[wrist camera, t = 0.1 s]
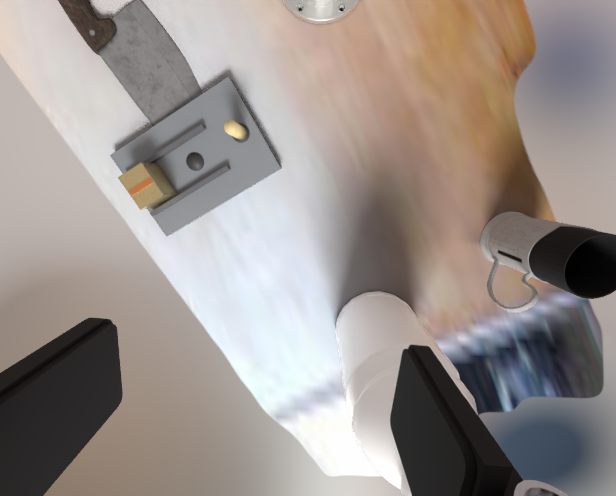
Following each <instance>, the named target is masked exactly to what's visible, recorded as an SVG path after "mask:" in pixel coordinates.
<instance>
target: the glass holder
mask: <svg viewBox="0 0 616 496" xmlns="http://www.w3.org/2000/svg"><path fill="white" fill-rule="evenodd" d="M480 247H481V250H482V253H483V254H484V256H485V257H486V258H487V259H488V260H490V261H491V262H493V263H494V264H493V267H492V270H491V272H490V275H489V279H488V282H487V288H488V292H489V295H490V297H491V299H492V300H493V301H494V303H495V304H496V305H498V306H499V307H500V308H501V309H503V310H505V311H507V312H513V313H517V312H522V311H525V310H527V309H529V308H531V307H532V306H534V305H535V303H536V302H537V300H538V292H537V291H536V289H535V288H534V287H533V286H532V285H530V284H528V283H526V281H527V280H528V279H529V278H531V277H533V278H535V279H537V280H540V281H542V282H545V283H549V284H552V285H554V286H556V287H559V288H561V289H563V290H565V291H568V292H570V293H572V294H574V295H577V296H579V297H582V298H587V299H594V298H599V297H604V296H606V295H608V294H611V293H612V292H614V291H615V290H616V235H614V234H609V233H603V232H599V231H596V230H593V229H590V228H585V227H580V226H574V225H569V224H564V223H558V222H553V221H548V220H542V219H537V218H531V217H528V216H526V215H525V214H523V213H520V212H514V211H510V212H505V213H501V214H499V215H497V216H495V217H494V218H493V219H491V220H490V221H489V222H488V223H487V225H486V226H485V227H484V229H483V231H482V234H481V238H480ZM498 264H501V265H507V266H509V267H511V268H513V269H516V270H518V271H520V272H522V273H524V274H525V275H524V276H523V277H522V279H521V281H522V283H523V284H524V285H525V286H526V287H528V288H529V289H531V290H532V291H533V295H532V298H531V299H530V301H529V302H527V303H526V304H524V305H521V306H519V307H514V308H510V307H505V306H503V305H501V304H500V303H499V302H498V301H497V300H496V299H495V297H494V295H493V292H492V283H493V279H494V276H495V273H496V271H497V268H498Z"/></svg>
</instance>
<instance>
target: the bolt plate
mask: <svg viewBox="0 0 616 496" xmlns="http://www.w3.org/2000/svg"><path fill="white" fill-rule="evenodd" d="M110 156H111V157H112V159H113V160H114V162H115V163H116V165H117V166H118V167H119V169H120V170H121V172H122V173H123V174H124V173H126V172H127V171H129V170H130V169H132V168H133V167H135V166H136V165H138V164H140V163H141V162H143V163H154V164H158V166H159V167H160V169H161V170H162V172H163V173H164V175H165V176H166V178H167V179H168V181H169V182H170V184H171V185H172V187H173V188H174V190H175V191H176V193H177V194H176V195H174V196H172V197H171V198H169V199H168V200H166V201H164V202H163V203H161V204H160V205H158V206H156V207H152V208H147V209H148V210H149V212H150V214H151V215H152V216H153V218H154V219H155V221H156V222H157V223H158V225H159V226H160V228H161V229H162V231H163V232H164V233H165V235H166V236H168V235H171V234H172V233H174V232H176V231H177V230H179V229H181V228H182V227H184V226H186V225H188V224H189V223H191V222H193V221H194V220H196V219H198V218H199V217H201V216H203V215H204V214H206V213H208V212H209V211H211V210H213V209H214V208H216V207H218V206H219V205H221V204H223V203H224V202H226V201H228V200H229V199H231V198H233V197H234V196H236V195H238V194H239V193H241V192H243V191H244V190H246V189H248V188H249V187H251V186H253V185H254V184H256V183H258V182H259V181H261V180H263V179H264V178H266V177H268V176H270V175H271V174H273V173H275V172H276V171H278V170H280V169H281V167H280V165H279V163H278V161H277V160H276V158H275V156H274V154H273V153H272V151H271V149H270V147H269V146H268V144H267V142H266V140H265V139H264V137H263V135H262V133H261V132H260V130H259V128H258V126H257V124H256V123H255V121H254V119H253V117H252V116H251V114H250V112H249V110H248V109H247V107H246V105H245V103H244V102H243V100H242V98H241V96H240V95H239V93H238V91H237V89H236V87H235V86H234V84H233V82H232V80H231V79H230V78H229V77H227V78H226V79H224V80H223V81H221V82H220V83H218V84H217V85H215V86H214V87H212V88H211V89H209V90H208V91H206V92H205V93H203V94H202V95H200V96H199V97H197V98H196V99H194V100H193V101H191V102H190V103H188V104H187V105H185V106H184V107H182V108H181V109H179V110H178V111H176V112H175V113H173V114H171V115H170V116H168V117H167V118H165V119H164V120H162V121H161V122H159V123H158V124H156V125H155V126H153V127H152V128H150V129H149V130H147V131H146V132H144V133H143V134H141V135H140V136H138V137H137V138H135V139H134V140H132V141H131V142H129V143H128V144H126V145H125V146H123V147H122V148H120V149H119V150H117V151H116V152H114V153H113V154H111V155H110Z"/></svg>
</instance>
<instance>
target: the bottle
mask: <svg viewBox="0 0 616 496" xmlns="http://www.w3.org/2000/svg"><path fill="white" fill-rule="evenodd" d="M335 337H336V340H337V344H338V351H339V358H340V365H341V372H342V378H343V386H344V397H345V401H346V404H347V407H348V411H349V414H350V417H351V418H352V429H353V432H354V435H355V438H356V441H357V444H358V446H359V447H360V448H361V450H362V452H363V453H364V455H365V457H366V458H367V459H368V460H369V462H370V463H371V464H372V465H373V466H374V467H375V468H376V469H377V471H378V472H379V473H380V474H381V475H382V476H383V477H384V478H385V479H386V480H388V481H389V482H390V483H391V484H393V485H394V486H396V487H398V488H399V489H401V492H402V495H403V496H412V494H411V491H410V488H409V484H408V481H407V478H406V475H405V472H404V469H403V465H402V462H401V459H400V456H399V453H398V449H397V446H396V443H395V440H394V437H393V434H392V430H391V426H390V415H391V410H392V404H393V399H394V394H395V389H396V383H397V378H398V373H399V367H400V362H401V357H402V352H403V350H404V349H408V347H409V345H422V346H429V347H430V348H431V350H432V351H433V352H434V354H435V355H436V357H437V358H438V360H439V361H440V362H441V364H442V365H443V367H444V368H445V370H446V371H447V373H448V374H449V375H450V377H451V378H452V380H453V381H454V383H455V384H456V386H457V387H458V388H459V390H460V391H461V393H462V394H463V396H464V397H465V398H466V399H467V401H468V402H469V404H470V405H471V406H472V408H473V409H474V411H475V412H476V414H477V409H476V405H475V400H474V398H473V396H472V395H471V393H470V392H469V391H468V389H467V388H466V387H465V385H464V384H463V383H462V381H460V377H459V373H458V371H457V370H456V368H455V367H454V365H453V364H452V363H451V361H450V360H449V359H448V357H447V356H446V355H445V354H444V353H443V352H442V350H441V349H440V348H439V346H438V345H437V344H436V343H435V341H434V340H433V339H432V337H431V336H430V335H429V333H428V332H427V331H426V329H425V328H424V327H423V325H422V324H421V323H420V321H419V320H418V319H417V317H416V315H415V313H414V312H413V311H412V309H411V308H410V307H409V305H408V304H407V303H406V302H404V301H403V300H401V299H400V298H398V297H397V296H395V295H393V294H390V293H386V292H381V291H375V292H366V293H363V294H361V295H359V296H357V297H355V298H352V299H351V300H350V301H349V302H348V303H347V304H346V305H345V306H344V307H343V308H342V310H341V312H340V314H339V316H338V318H337V322H336V335H335ZM477 415H478V414H477Z"/></svg>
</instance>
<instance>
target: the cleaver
mask: <svg viewBox="0 0 616 496" xmlns="http://www.w3.org/2000/svg"><path fill="white" fill-rule="evenodd" d="M58 1H59V2H60V4H61V6H62V7H63V9H64V11H65V12H66V14H67V15H68V17H69V18H70V20H71V21H72V23H73V24H74V26H75V27H76V29H77V30H78V32H79V33H80V34H81V36H82V37H83V39H84V40H85V41H86V43H87V44H88V45H89V47H90V48H91V49H92V50H93V51H94V52H95V53H96V54H98V55H100V56H101V57H102V59H103V60H104V61H105V63H106V64H107V65H108V67H109V68H110V69H111V71H112V72H113V73H114V75H115V76H116V78H117V79H118V80H119V82H120V83H121V84H122V86H123V87H124V88H125V90H126V91H127V92H128V94H129V95H130V96H131V98H132V99H133V100H134V102H135V103H136V104H137V106H138V107H139V108H140V110H141V111H142V112H143V113H144V115H145V116H146V117H147V118H148V119H149V120H150V122H151V123H152V124H153V125H154V126H155V125H156V124H158V123H159V122H161V121H162V120H164V119H165V118H167V117H168V116H170V115H171V114H173V113H175V112H176V111H178V110H179V109H181V108H182V107H184V106H185V105H187V104H188V103H190V102H191V101H193V100H194V99H196V98H197V97H199V96H200V95H202V94H203V93H202V91H201V89H200V87H199V84H198V82H197V80H196V78H195V76H194V74H193V72H192V70H191V68H190V66H189V64H188V62H187V61H186V59H185V57H184V56H183V54H182V53H181V51H180V50H179V49H178V47H177V46H176V44H175V43H174V41H173V40H172V39H171V37H170V36H169V35H168V33H167V32H166V31H165V29H164V28H163V27H162V25H161V24H160V23H159V22H158V21H157V19H156V18H155V17H154V16H153V14H152V13H151V12H150V11H149V10H148V8H147V7H146V6H145V5H144V4H143V3H142V1H141V0H135V1H134V2H132V3H131V4H129V5H127V6H126V7H125V8H124V9H122V10H121V11H120V12H119V13H118V14H117V15H116V16H114V17H113V18H112V19H110V18H107V19H98V18H97V17H96V15H95V14H94V13H93V10H92V8H91V6H90V4H89V1H88V0H58Z"/></svg>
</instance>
